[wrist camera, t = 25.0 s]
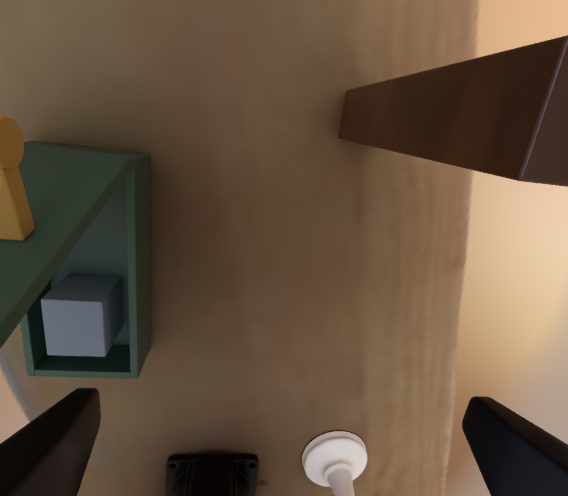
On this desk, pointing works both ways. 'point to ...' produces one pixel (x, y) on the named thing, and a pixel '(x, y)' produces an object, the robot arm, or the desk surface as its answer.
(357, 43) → the desk surface
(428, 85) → the post
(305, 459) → the chess piece
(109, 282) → the block
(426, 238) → the desk surface
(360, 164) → the desk surface
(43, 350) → the chest
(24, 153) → the lid
